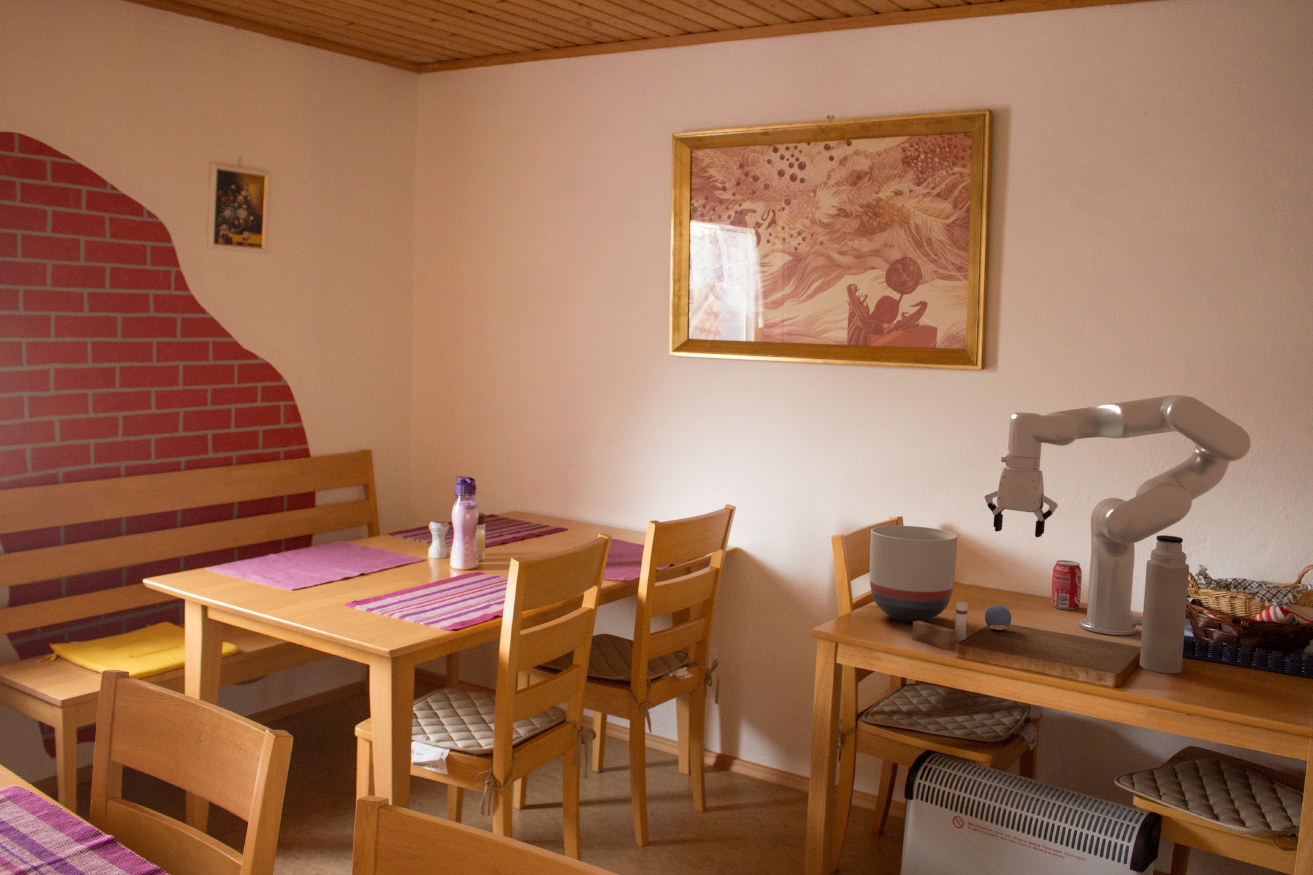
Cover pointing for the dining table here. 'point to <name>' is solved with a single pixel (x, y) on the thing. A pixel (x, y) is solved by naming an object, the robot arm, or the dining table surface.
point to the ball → (998, 616)
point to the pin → (961, 620)
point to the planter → (912, 571)
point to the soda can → (1066, 585)
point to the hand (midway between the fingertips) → (1018, 533)
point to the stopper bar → (934, 635)
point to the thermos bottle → (1164, 607)
